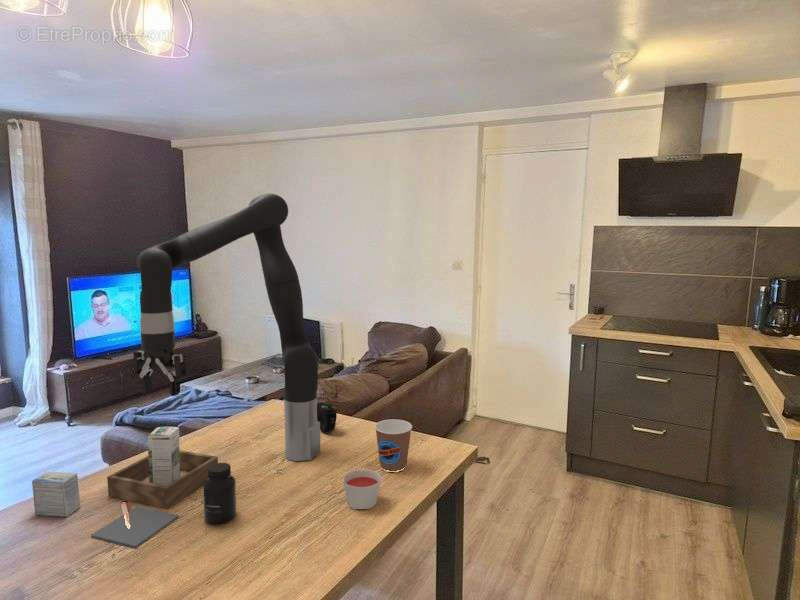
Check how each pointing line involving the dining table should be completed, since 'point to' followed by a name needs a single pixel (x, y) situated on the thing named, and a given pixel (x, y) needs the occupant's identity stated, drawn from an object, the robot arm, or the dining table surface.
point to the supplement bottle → (219, 494)
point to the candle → (362, 488)
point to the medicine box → (56, 494)
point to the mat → (135, 527)
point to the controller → (326, 417)
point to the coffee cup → (393, 443)
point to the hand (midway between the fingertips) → (161, 393)
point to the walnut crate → (133, 489)
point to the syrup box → (164, 455)
